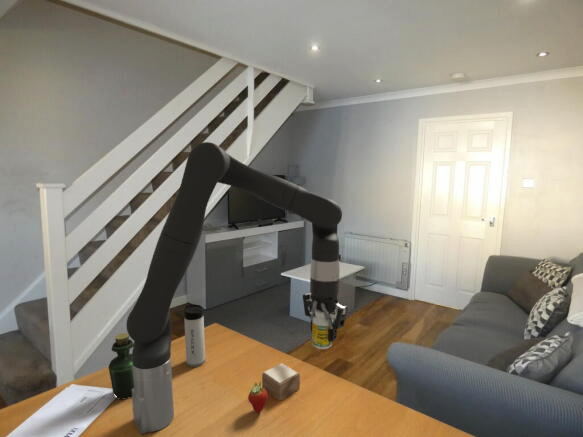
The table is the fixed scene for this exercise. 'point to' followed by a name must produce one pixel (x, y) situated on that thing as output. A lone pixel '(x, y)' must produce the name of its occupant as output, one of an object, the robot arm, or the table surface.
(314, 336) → the supplement bottle
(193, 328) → the travel mug
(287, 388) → the wooden block
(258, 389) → the fruit
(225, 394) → the table surface
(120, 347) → the potion bottle
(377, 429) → the table surface
